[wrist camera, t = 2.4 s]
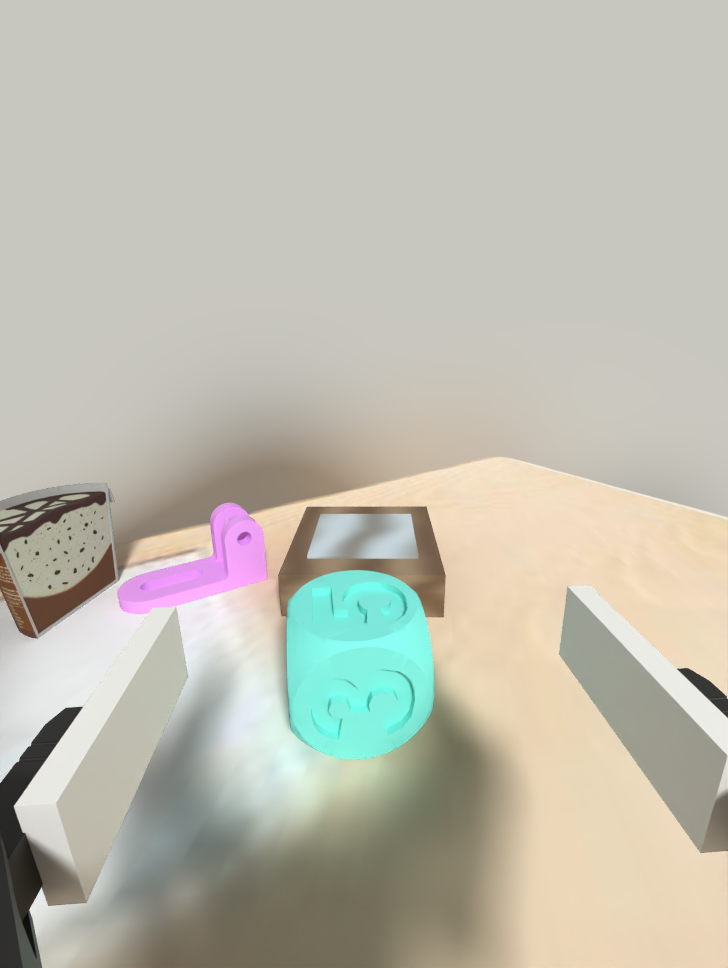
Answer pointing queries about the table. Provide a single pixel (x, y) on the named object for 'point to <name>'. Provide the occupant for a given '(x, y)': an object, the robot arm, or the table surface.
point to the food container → (55, 553)
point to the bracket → (204, 567)
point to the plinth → (366, 550)
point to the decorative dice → (358, 664)
